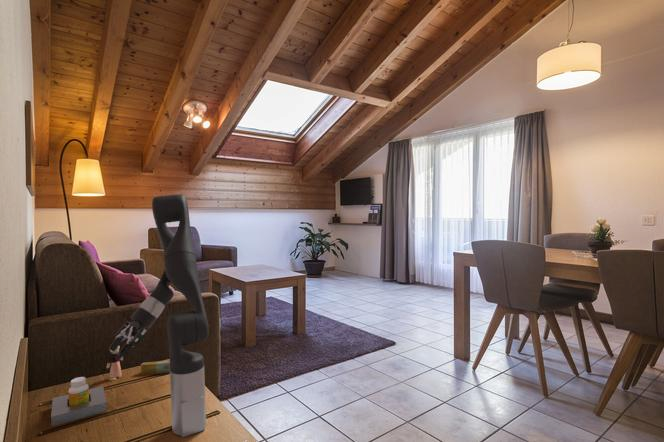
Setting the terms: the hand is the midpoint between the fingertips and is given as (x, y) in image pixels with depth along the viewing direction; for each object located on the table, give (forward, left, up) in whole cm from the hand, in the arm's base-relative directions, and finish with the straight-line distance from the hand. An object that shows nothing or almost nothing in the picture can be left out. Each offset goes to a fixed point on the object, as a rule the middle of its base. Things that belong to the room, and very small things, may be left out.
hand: (115, 352), depth 130 cm
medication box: (+13, -15, -15) cm, 25 cm away
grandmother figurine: (+17, -1, -15) cm, 23 cm away
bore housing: (-3, +11, -15) cm, 19 cm away
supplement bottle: (-3, +11, -15) cm, 19 cm away
